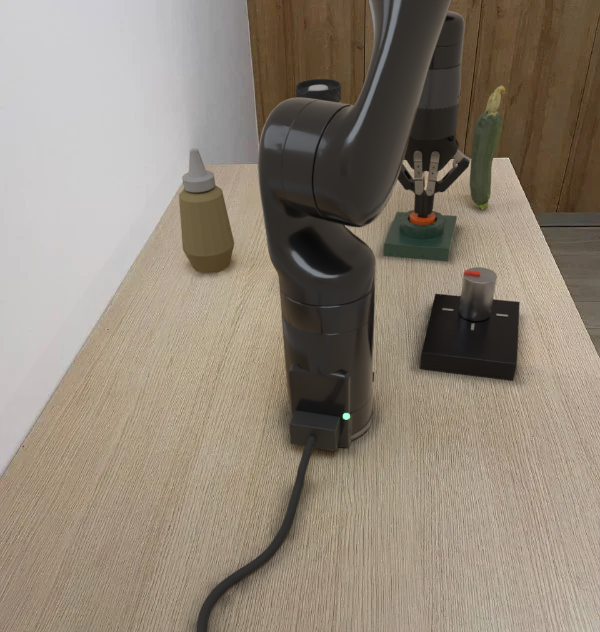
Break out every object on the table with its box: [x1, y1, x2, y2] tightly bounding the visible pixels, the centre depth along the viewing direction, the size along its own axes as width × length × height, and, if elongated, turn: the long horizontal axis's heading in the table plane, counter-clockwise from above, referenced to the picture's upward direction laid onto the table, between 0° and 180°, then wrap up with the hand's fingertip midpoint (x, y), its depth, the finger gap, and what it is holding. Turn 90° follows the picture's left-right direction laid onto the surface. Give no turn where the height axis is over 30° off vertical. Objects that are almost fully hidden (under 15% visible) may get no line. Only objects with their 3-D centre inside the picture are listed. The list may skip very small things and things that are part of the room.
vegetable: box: [469, 84, 507, 211], centre depth 107 cm, size 4×4×20 cm
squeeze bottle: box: [178, 148, 235, 274], centre depth 95 cm, size 8×8×18 cm
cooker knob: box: [459, 266, 498, 321], centre depth 81 cm, size 4×4×6 cm
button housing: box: [383, 209, 458, 262], centre depth 103 cm, size 12×10×4 cm
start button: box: [410, 212, 435, 225], centre depth 102 cm, size 4×4×2 cm
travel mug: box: [295, 78, 342, 103], centre depth 112 cm, size 8×8×20 cm
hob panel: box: [419, 293, 521, 382], centre depth 81 cm, size 14×11×3 cm
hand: (423, 215), depth 101 cm, fingers closed
